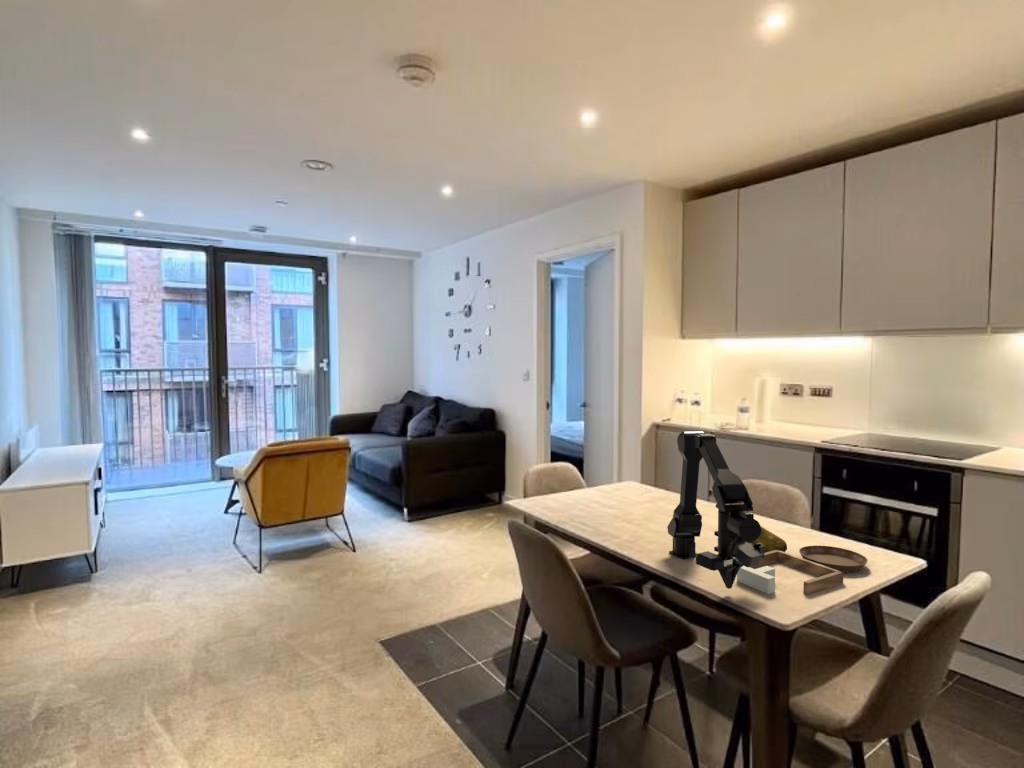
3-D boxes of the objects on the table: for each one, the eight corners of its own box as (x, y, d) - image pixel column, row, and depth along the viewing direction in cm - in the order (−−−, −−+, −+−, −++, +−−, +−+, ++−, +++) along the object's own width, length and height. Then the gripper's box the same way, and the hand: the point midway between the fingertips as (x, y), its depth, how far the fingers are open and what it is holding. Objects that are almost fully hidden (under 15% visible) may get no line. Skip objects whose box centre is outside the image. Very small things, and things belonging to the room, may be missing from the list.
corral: (742, 568, 166) (742, 558, 166) (777, 559, 173) (777, 549, 173) (807, 594, 148) (807, 583, 148) (843, 583, 155) (843, 572, 155)
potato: (776, 560, 172) (776, 534, 172) (737, 548, 183) (737, 524, 182) (789, 554, 178) (790, 528, 177) (750, 543, 188) (751, 519, 187)
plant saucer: (806, 550, 182) (806, 540, 182) (871, 562, 171) (871, 552, 170) (792, 566, 168) (792, 556, 168) (862, 581, 157) (862, 570, 157)
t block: (736, 580, 157) (737, 566, 157) (755, 575, 161) (755, 561, 161) (768, 594, 148) (768, 579, 148) (787, 588, 152) (787, 573, 152)
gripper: (729, 544, 136) (728, 608, 137) (780, 532, 145) (779, 592, 146) (694, 531, 146) (693, 591, 147) (744, 520, 155) (743, 577, 156)
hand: (728, 588), depth 149 cm, fingers closed
